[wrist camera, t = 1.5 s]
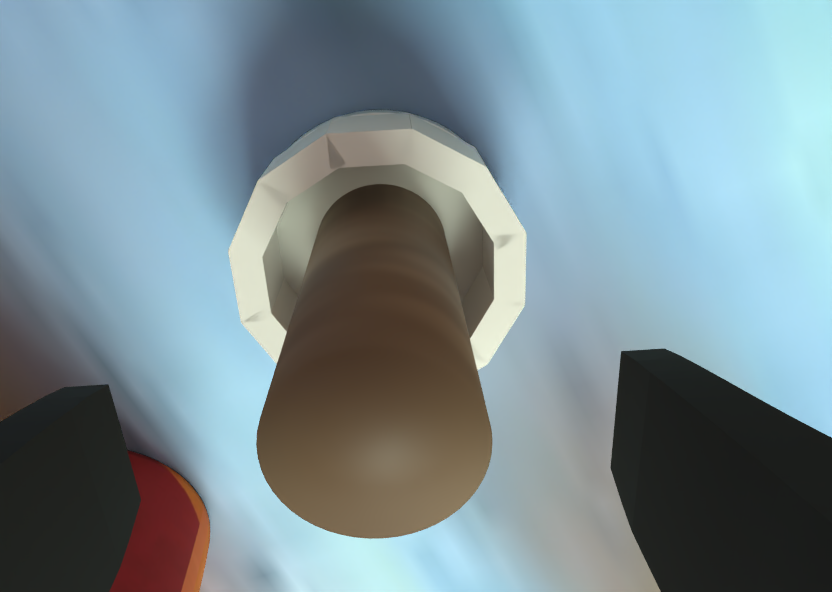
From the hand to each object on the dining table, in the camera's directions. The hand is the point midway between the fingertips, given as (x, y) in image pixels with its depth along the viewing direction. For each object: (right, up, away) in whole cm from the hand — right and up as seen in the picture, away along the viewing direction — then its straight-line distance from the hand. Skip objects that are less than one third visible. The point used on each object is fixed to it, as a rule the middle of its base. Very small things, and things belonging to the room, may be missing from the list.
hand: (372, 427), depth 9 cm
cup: (0, +3, +8) cm, 8 cm away
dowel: (0, +3, +7) cm, 8 cm away
